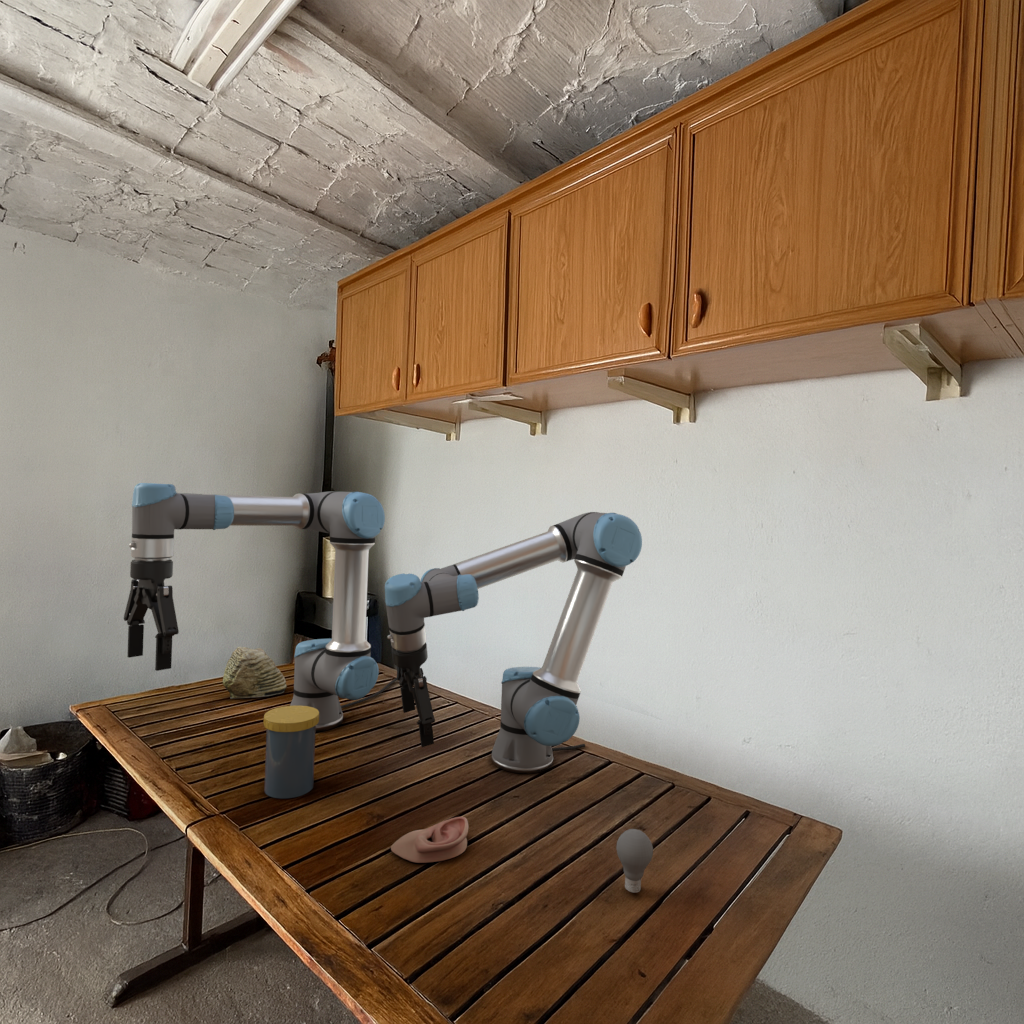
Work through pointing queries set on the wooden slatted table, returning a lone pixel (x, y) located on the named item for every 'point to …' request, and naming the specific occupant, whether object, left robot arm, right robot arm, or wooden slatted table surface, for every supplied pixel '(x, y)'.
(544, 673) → the right robot arm
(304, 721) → the lid
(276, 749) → the jar
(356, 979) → the wooden slatted table surface
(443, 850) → the anatomical model
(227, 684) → the fossil
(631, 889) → the light bulb
